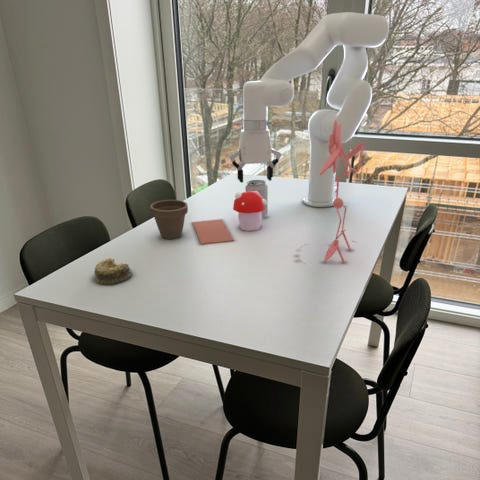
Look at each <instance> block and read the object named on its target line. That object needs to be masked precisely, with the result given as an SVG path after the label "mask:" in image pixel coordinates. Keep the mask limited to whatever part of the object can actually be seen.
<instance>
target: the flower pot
mask: <svg viewBox="0 0 480 480" xmlns="http://www.w3.org/2000/svg"><path fill="white" fill-rule="evenodd" d="M188 207H189V206H188V203H187V202H185V201H183V200H179V199H164V200H158V201H155V202H152V203H151V204H150V206H149V208H150V214H151V216H152V217H154V220H155V223H156V226H157V229H158V231H159V234H160V236H161V238H163V239H166V240H175V239H178V238H181V236H182V234H183V230H184V226H185V219H186V215H187V214H188V211H189V210H188V209H189V208H188Z"/></svg>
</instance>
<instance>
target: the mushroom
mask: <svg viewBox="0 0 480 480" xmlns="http://www.w3.org/2000/svg"><path fill="white" fill-rule="evenodd" d="M234 198H235V199H234V200H233V206H232V210H233V211H235V212H237V213H238V215H237V217H238V223H239V228H240V229H241V230H243V231H251V232H253V231H257V230H259V229H260V228H261V225H262V220H263V218H262V214H261V211H263V210H266V204H267V201H266V200H265V199H264V198H263V197H262V196H261V195H260V194H259V192H258V191H246V190H245V191H244V192H236V193H235V195H234Z"/></svg>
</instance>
